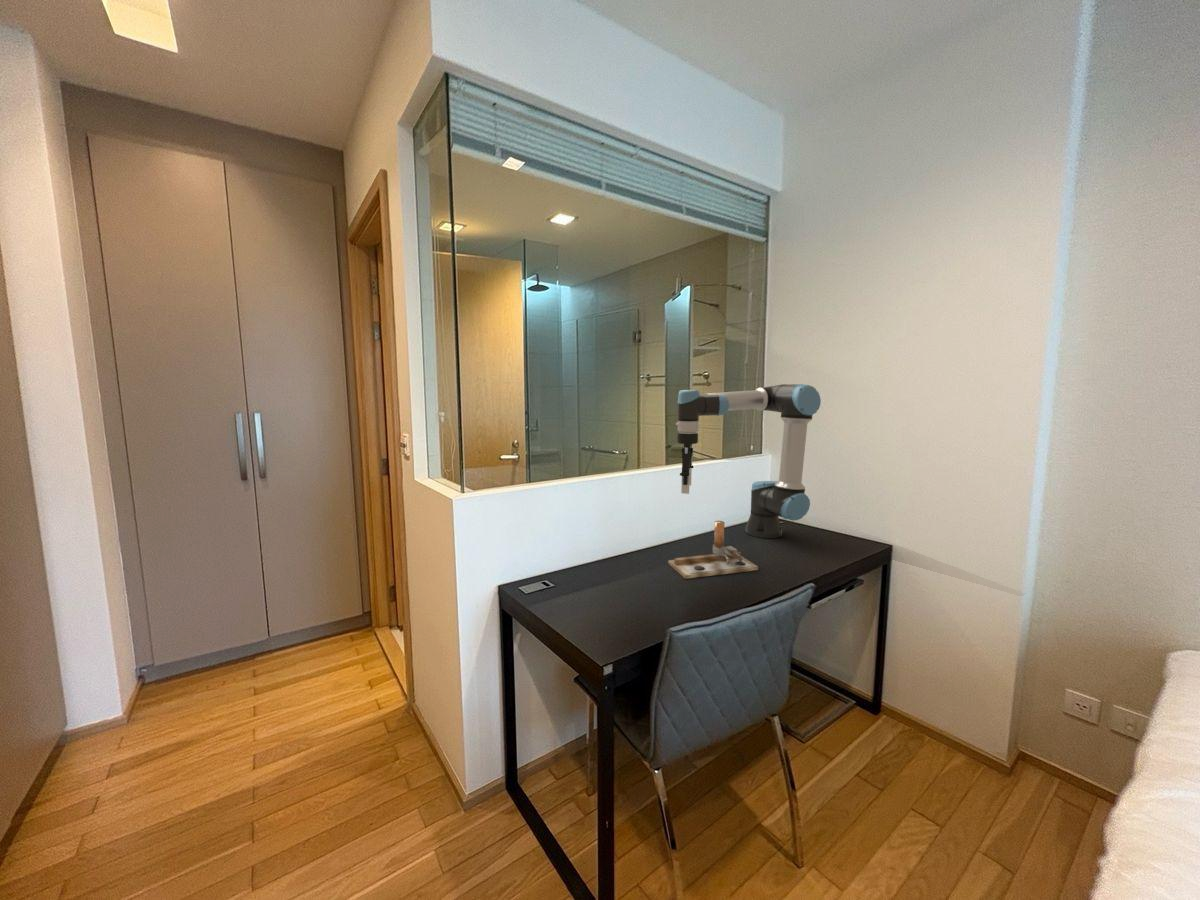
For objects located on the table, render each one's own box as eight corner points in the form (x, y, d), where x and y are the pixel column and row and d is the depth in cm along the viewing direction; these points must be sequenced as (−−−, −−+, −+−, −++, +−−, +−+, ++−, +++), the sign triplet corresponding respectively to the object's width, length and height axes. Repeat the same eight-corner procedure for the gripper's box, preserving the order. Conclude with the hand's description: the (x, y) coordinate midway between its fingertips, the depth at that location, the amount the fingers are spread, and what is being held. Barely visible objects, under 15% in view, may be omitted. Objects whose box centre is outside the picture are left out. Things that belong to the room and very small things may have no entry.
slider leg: (719, 554, 176) (721, 520, 174) (732, 563, 168) (734, 527, 166) (711, 555, 175) (712, 520, 173) (724, 564, 167) (725, 528, 165)
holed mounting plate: (736, 556, 181) (736, 543, 180) (758, 569, 167) (758, 556, 167) (668, 563, 173) (668, 550, 172) (685, 578, 160) (685, 564, 159)
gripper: (679, 428, 187) (678, 481, 190) (674, 435, 163) (673, 496, 166) (699, 429, 185) (698, 482, 188) (696, 436, 161) (695, 497, 164)
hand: (686, 489), depth 177 cm, fingers open, 13 cm apart
